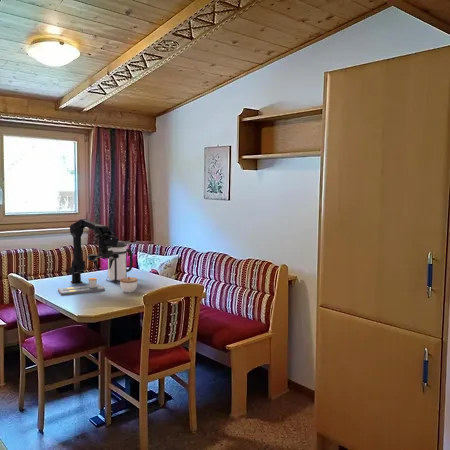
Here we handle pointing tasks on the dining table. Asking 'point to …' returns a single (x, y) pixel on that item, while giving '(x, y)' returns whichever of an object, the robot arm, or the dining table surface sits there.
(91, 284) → the block
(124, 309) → the dining table surface
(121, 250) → the coffee press
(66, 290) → the console board
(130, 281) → the lidded jar
